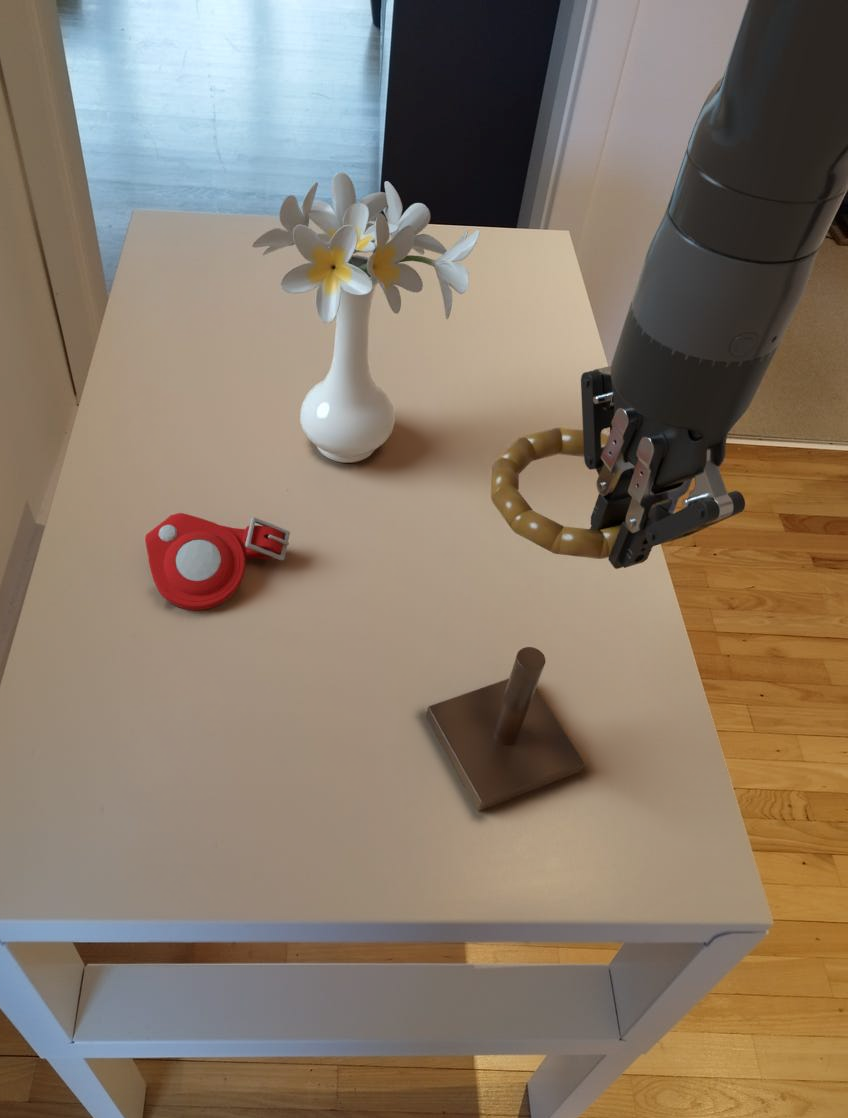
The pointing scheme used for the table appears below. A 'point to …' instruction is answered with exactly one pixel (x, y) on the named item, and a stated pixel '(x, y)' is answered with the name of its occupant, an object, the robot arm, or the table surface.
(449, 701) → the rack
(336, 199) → the flower vase
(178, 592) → the tracker holder
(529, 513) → the ring
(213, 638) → the table surface
